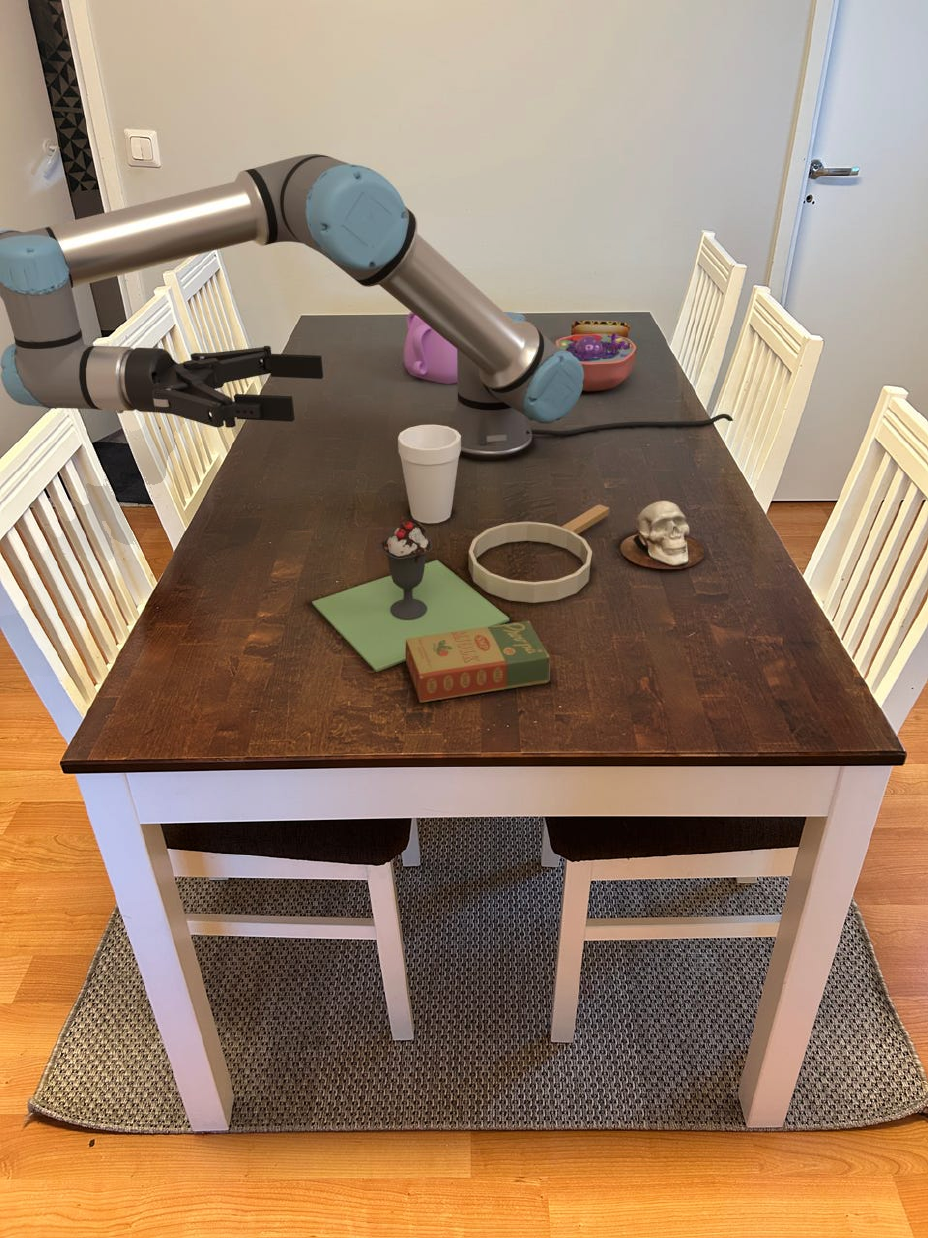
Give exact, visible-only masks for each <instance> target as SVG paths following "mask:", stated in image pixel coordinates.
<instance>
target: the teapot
mask: <svg viewBox="0 0 928 1238" xmlns="http://www.w3.org/2000/svg"><path fill="white" fill-rule="evenodd" d="M406 327H407V334H406V338H405V342H404V348H403V349H404V350H403V363H404V366H405V368H406V370H407V372H408V373H409V375H411V376H413V377H415V378H419V379H421V380H424V381H425V380H426V381H430V382H434V383H438V384H446V385H452V384H453V385H454V384H457V348H455V347H454V346H453V345H452V344H450V343H449V342H448V341H447V340H446V339H444V338H443V337H442V336H441V335H439V334H438V333H437V332H436V331H435V330H433V329H432V328H431V327H430V326H429V325H427V324H426V323H425V322H424V321H422V320H421V319H420V318H419V317H418V316H416V315H415V314H414V313H413V312H411V311H410V312H409V313H408V315H407V317H406Z"/></svg>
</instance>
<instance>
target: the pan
mask: <svg viewBox="0 0 928 1238" xmlns="http://www.w3.org/2000/svg"><path fill="white" fill-rule="evenodd" d="M609 515H610V507H609V506H606V505H603V504H601V503H598V504H597V505H595V506H593V507H592V508H590V509H588V510H586V511H585V512H583V513H582V514H580V515H578V516H577V517H575V518H574V519H572V520H570V521H569V522H567V523H565V524H564V525H562V526H559V525H556V524H552V523H547V522H536V521H516V522H508V523H507V522H506V523H502V524H499V525H497V526H493V527H491V528H487V529H485V530H484V531H482V532H480V534H478V535H477V536H475V537H474V538H473V539H472V542H471V544H470V547H469V549H468V571H469V574H470V577H471V579H472V581H473V583H474V584H476V585H477V586H478V587H479V588H481V589H482V590H483V591H484V592H486V593H488V594H490V595H493V596H496V597H498V598H501V599H504V600H506V601H512V602H521V603H529V604H536V603H537V604H538V603H544V602H552V601H553V602H554V601H558V600H562V599H565V598H567V597H569V596H572V595H575V594H577V593H578V592H579V591H581V589H583V587H585V586H586V585H587V584H588V583H589V580H590V576H591V570H592V559H593V550H592V548H591V546H590V545H589V544H588V542H587V540H586V539H585V538H584V537H582V536H580V535H579V534H581V533H582V532H584V531H585V530H587V529H588V528H590V527H592V526H594V525H595V524H597V523H598V522H600V521H601V520H603V519H604V518H607V517H608V516H609ZM526 541H527V542H536V543H547V544H551V545H553V546H556V547H560V548H563V549H566V550H567V551H569V552H571V554H573V555H575V556H576V557H578V558H579V559H580V560H581V563H582V564H583V565H582V566H581V567H580V568H579V569H578V570H576V571H575V572H574V573H571V574H569V575H566V576H563V577H560V578H557V579H550V580H542V581H527V580H517V579H509V578H507V577H504V576H502V575H498V574H495V573H492V572H490V571H489V570H488V569H486V568H485V567H484V566H482V565H481V564H480V563H479V562H478V561H477V559H478V558H479V557H480V556H481V555H482V554H483V553H485V552H486V551H487V550H489V549H491V548H495V547H499V546H500V545H504V544H507V543H518V542H526Z"/></svg>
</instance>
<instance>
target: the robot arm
mask: <svg viewBox="0 0 928 1238" xmlns="http://www.w3.org/2000/svg"><path fill="white" fill-rule="evenodd" d="M249 242H254V243H255V244H258V245H259V246H261V247H264V246H268V245H272V244H277V243H285V242H286V243H297V244H303V245H305V246H306V247H309V248H310V249H313V250H314V251H316V252H318V253H319V254H321V255H323V257H325V258H327V259H328V260H329V261H330V262H332V263H333V264H334V265H335V266H337V267H338V268H339V269H340V270H342V271H343V272H345V273H346V274H347V275H348V276H349V277H350V278H351V279H353V280H354V281H356V282H357V283H358V284H359V285H361V286H362V287H366V288H367V287H368V288H369V287H374V286H380V287H381V288H382V289H383V290H384V291H386V292H387V293H388V294H390V296H392V297H393V298H394V299H396V300H397V301H398V302H399V303H400V304H402V306H404V307H405V308H406V309H408V310H409V311H410V312H413V313H414V314H415V315H416V316H418V317H419V318H420V319H421V320H422V321H424V322H425V323H426V324H427V325H429V326H430V327H431V328H432V329H433V330H435V331H436V332H437V333H438V334H439V335H441V336H442V337H443V338H444V339H446V340H447V341H448V342H449V343H450V344H452V345H453V346H454V347H455V348H457V383H456V385H457V401H456V402H457V403H456V406H455V409H454V412H453V416H452V419H451V423H450V426H449V427H450V428H452V429H454V430H457V432H458V433H459V434H460V435H461V452H460V455H459V456H462V457H465V458H469V459H473V460H479V461H502V460H510V459H513V458H516V457H519V456H521V455H523V454H526V453H527V452H528V451H529V450H530V449H531V448H532V444H533V442H532V441H533V435H536V436H537V435H540V436H541V435H542V436H555V437H563V436H574V435H578V434H584V433H588V432H592V431H600V430H608V429H609V430H610V429H616V428H629V427H633V428H634V427H699V426H706V425H711V424H713V423H714V424H715V423H716V422H718V421H720V420H722V419H725V420H727V421H728V422H733V421H734V419H733V417H732V416H731V415H729V414H727V413H719V414H717V415H716V416H713V417H712V418H709V419H705V420H703V419H702V420H687V421H686V420H685V421H683V420H682V421H680V420H679V421H625V422H623V421H622V422H613V423H605V424H596V425H590V426H584V427H581V428H575V429H569V430H552V429H551V430H550V429H531V425H530V422H529V420H530V421H533V422H536V423H539V424H544V425H545V424H546V425H548V424H552V423H554V422H556V421H560V420H562V419H563V418H564V417H566V416H567V415H568V414H569V413H570V412H571V411H572V409H574V407H575V406H576V405H577V403H578V401H579V399H580V396H581V394H582V392H583V391H582V388H583V384H582V382H583V380H584V371H583V367H582V365H581V363H580V361H579V360H578V359H577V358H576V357H575V356H573V354H572V353H571V352H568V351H563V350H562V349H560V348H558V347H557V346H556V344H555V343H553V342H552V340H550V339H549V338H548V337H547V336H545V334H544V333H542V331H540V330H539V328H537V327H536V326H535V325H534V324H533V323H531V322H529V321H527V319H526V316H525V315H524V314H522V313H519V312H513V311H503V310H502V309H501V308H500V307H499V306H498V305H497V304H496V303H494V302H493V301H492V299H490V298H489V297H488V296H487V295H486V294H484V292H483V291H481V290H480V289H479V288H478V287H477V286H476V285H475V284H474V283H472V281H470V280H469V279H468V278H467V277H466V276H465V275H464V274H463V273H461V271H460V270H458V269H457V267H456V266H454V265H453V264H452V263H451V262H449V261H448V259H446V258H445V257H444V255H442V254H441V253H440V252H439V251H438V250H436V249H435V248H434V247H433V245H431V244H430V243H429V242H427V240H426V239H424V237H422V236H421V235H420V234H419V233H418V220H417V216H416V215H415V214H414V213H413V212H412V211H411V210H410V209H409V208H408V207H407V206H406V205H405V202H404V201H403V197H402V196H401V194H400V193H399V191H398V190H397V188H396V187H395V186H394V185H393V184H392V183H391V182H390V181H389V180H388V179H387V178H386V177H385V176H383V175H382V174H380V173H379V172H377V171H376V170H374V169H371V168H369V167H366V166H363V165H360V164H351V163H348V162H346V161H343V160H340V159H336V158H334V157H332V156H329V155H325V154H321V153H311V154H301V155H297V156H293V157H289V158H285V159H282V160H278V161H274V162H271V163H268V164H264V165H260V166H257V167H253V168H248V169H244V170H241V171H239V172H238V174H237V175H236V177H235V180H234V181H231V182H227V183H224V184H223V183H222V184H218V185H215V186H211V187H210V186H209V187H206V188H201V189H198V190H193V191H190V192H185V193H181V194H178V195H177V194H176V195H174V196H173V195H172V196H169V197H164V198H161V199H156V200H152V201H149V202H143V203H140V204H136V205H132V206H128V207H123V208H120V209H116V210H111V211H107V212H103V213H98V214H94V215H91V216H86V217H82V218H78V219H74V220H69V221H66V222H61V223H57V224H53V225H49V226H46V227H41V228H35V229H32V230H27V231H21V230H15V229H2V230H0V299H1V300H2V301H3V304H4V307H5V311H6V313H7V314H6V315H7V317H8V320H9V323H10V326H11V331H12V333H13V339H14V343H11V344H9V345H8V346H7V347H6V348H5V349H4V351H3V352H2V354H1V357H0V367H1V370H2V371H1V373H0V380H1V382H2V386H3V388H4V390H5V392H6V393H7V395H8V397H9V398H11V399H12V401H14V402H15V403H17V404H19V405H23V406H31V407H39V408H45V409H48V410H52V409H55V410H57V409H70V410H71V409H72V410H73V409H75V410H98V411H102V410H104V411H115V413H116V414H123V413H124V411H125V412H133V411H138V412H140V413H155V414H167V415H168V414H169V415H174V416H177V417H180V418H183V419H187V420H190V421H194V422H195V423H200V424H203V425H207V426H209V427H213V428H218V429H219V428H223V427H224V426H225V428H227V429H230V428H235V427H236V426H237V425H236V419H237V420H246V421H247V420H248V421H268V422H270V421H271V422H294V421H295V410H294V401H293V396H292V395H275V394H274V395H270V394H252V393H250V394H249V393H234V395H233V399H232V397H231V396H228V395H227V394H225V393H222V392H221V391H219V390H217V389H222V388H223V387H224V384H226V383H230V382H236V381H242V380H245V379H249V378H255V377H259V376H264V375H265V376H266V375H269V374H270V378H289V379H291V378H292V379H312V380H313V379H314V380H322V379H323V378H324V369H323V359H322V358H323V357H322V355H315V354H314V355H313V354H292V353H287V354H286V353H272V347H271V346H270V345H263V346H261V347H252V348H243V349H233V350H226V351H217V352H216V351H215V352H193V353H191V354H190V360H184V361H183V362H180V363H178V362H176V360H175V359H174V358H173V356H172V355H171V354H170V352H169V351H168V350H166V349H165V348H159V347H135V348H133V347H131V346H118V345H116V346H115V345H88V344H85V342H84V336H83V331H82V328H81V325H80V320H79V316H78V311H77V306H76V302H75V297H74V292H73V288H77V287H80V286H84V285H88V284H91V283H92V284H93V283H95V282H99V281H104V280H107V279H110V278H114V277H118V276H121V275H122V276H123V275H126V274H129V273H133V272H138V271H142V270H146V269H149V268H153V267H157V266H161V265H164V264H168V263H171V262H176V261H179V260H183V259H188V258H191V257H194V256H198V255H202V254H206V253H209V252H214V251H219V250H222V249H225V248H229V247H233V246H237V245H240V244H245V243H249Z"/></svg>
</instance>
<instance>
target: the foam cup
mask: <svg viewBox="0 0 928 1238" xmlns="http://www.w3.org/2000/svg"><path fill="white" fill-rule="evenodd" d="M397 451H398V454H399V457H400V461H401V462H400V463H401V466H402V473H403V479H404V485H405V489H406V490H405V491H406V494H407V500H408V506H409V511H410V515H411V517H412V519H414V520H416V521H417V522H418V523H423V524H439V523H442V522H445V521H447V520H448V519H449V518H451V514H452V510H453V502H454V497H455V496H454V495H455V490H456V489H455V488H456V480H457V473H458V465H459V457H460V456H461V455H460V452H461V435H460V434H459V433H458V432H457V430H454V429H452V428H450V426H446V425H440V424H420V425H415V426H411V427H408V428H406V429H404V430H403V431H401V432H399V435H398V437H397Z"/></svg>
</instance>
